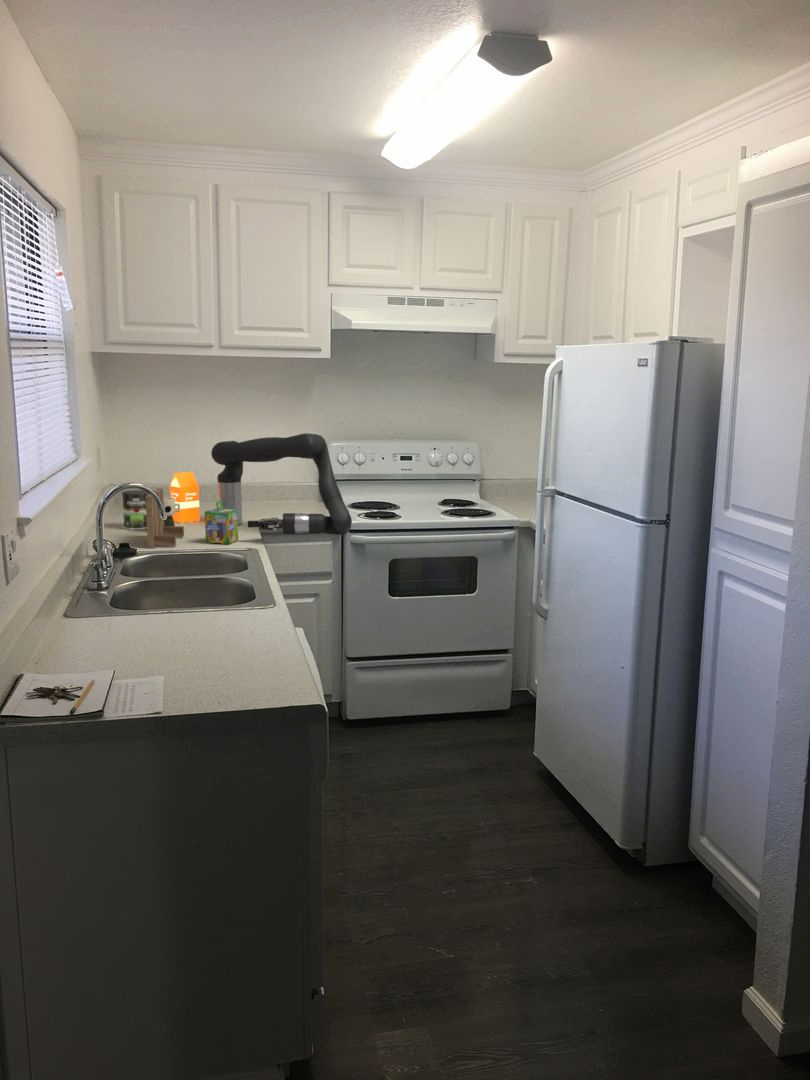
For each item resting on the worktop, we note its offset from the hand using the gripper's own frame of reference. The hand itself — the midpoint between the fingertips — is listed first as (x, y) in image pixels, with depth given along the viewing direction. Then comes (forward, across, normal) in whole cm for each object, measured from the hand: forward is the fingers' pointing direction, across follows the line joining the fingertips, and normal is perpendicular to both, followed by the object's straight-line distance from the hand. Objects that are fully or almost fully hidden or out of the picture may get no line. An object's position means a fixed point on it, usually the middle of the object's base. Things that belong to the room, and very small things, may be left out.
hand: (247, 524), depth 311 cm
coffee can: (+45, -31, +6) cm, 55 cm away
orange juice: (+29, -46, +6) cm, 55 cm away
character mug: (+32, -20, +6) cm, 39 cm away
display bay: (+29, 0, +6) cm, 29 cm away
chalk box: (+9, 0, +7) cm, 11 cm away
